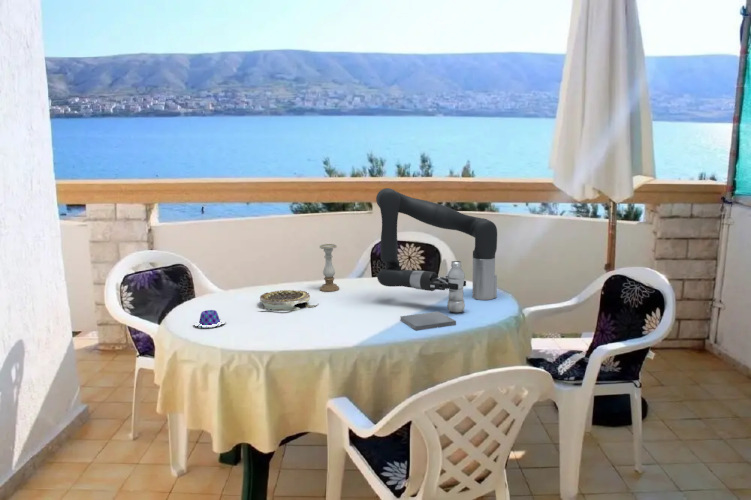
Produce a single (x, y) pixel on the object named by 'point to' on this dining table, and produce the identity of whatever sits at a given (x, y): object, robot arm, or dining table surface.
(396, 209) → the robot arm
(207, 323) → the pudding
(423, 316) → the slate tile
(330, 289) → the candle holder
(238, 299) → the dining table surface
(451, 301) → the plastic bottle
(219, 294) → the dining table surface
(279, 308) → the pie
